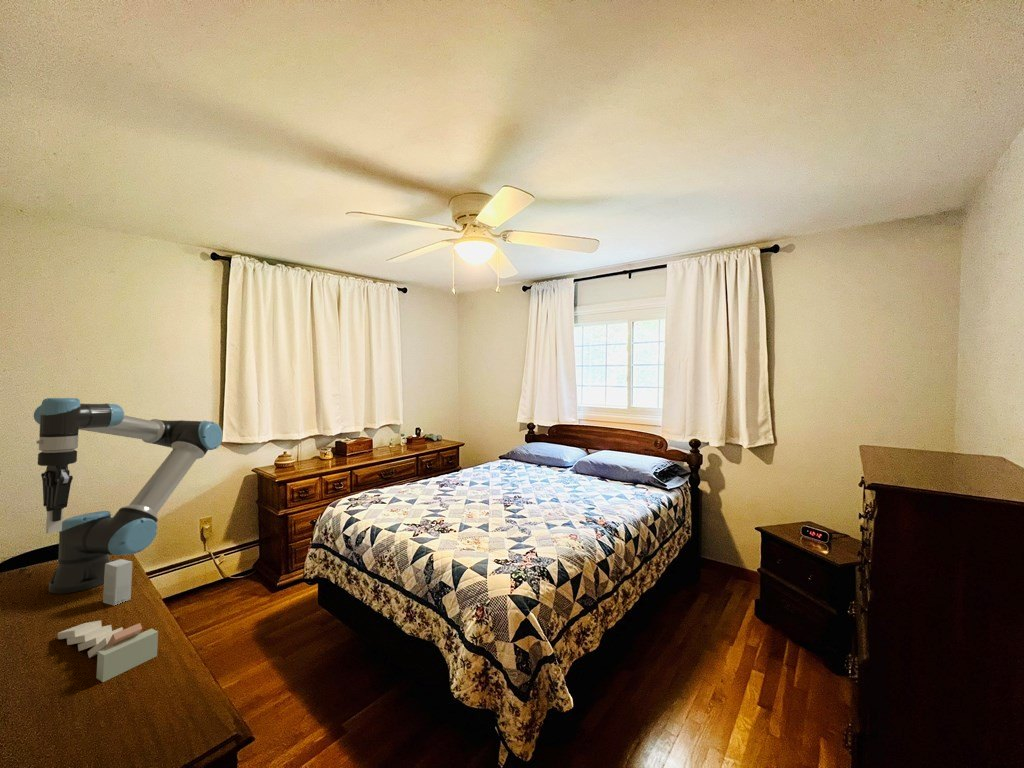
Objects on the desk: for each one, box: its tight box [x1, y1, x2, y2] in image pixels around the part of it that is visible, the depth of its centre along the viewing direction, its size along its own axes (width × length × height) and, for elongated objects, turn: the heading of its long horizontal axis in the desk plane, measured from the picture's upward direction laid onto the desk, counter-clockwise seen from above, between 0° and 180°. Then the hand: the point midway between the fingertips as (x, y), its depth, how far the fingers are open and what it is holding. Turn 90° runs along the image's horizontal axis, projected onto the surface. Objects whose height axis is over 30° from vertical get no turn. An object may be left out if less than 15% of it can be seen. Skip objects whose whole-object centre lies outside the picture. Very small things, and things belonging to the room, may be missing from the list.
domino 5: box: [105, 622, 143, 648], centre depth 96 cm, size 2×5×10 cm
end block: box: [95, 628, 159, 683], centre depth 94 cm, size 3×10×6 cm, turn 156°
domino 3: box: [77, 626, 124, 652], centre depth 100 cm, size 2×5×10 cm
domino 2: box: [66, 624, 113, 646], centre depth 102 cm, size 2×5×10 cm
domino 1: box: [57, 620, 103, 640], centre depth 104 cm, size 2×5×10 cm
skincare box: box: [102, 558, 133, 606], centre depth 123 cm, size 6×4×12 cm
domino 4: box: [87, 635, 112, 659], centre depth 98 cm, size 2×5×10 cm
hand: (53, 531), depth 114 cm, fingers closed
